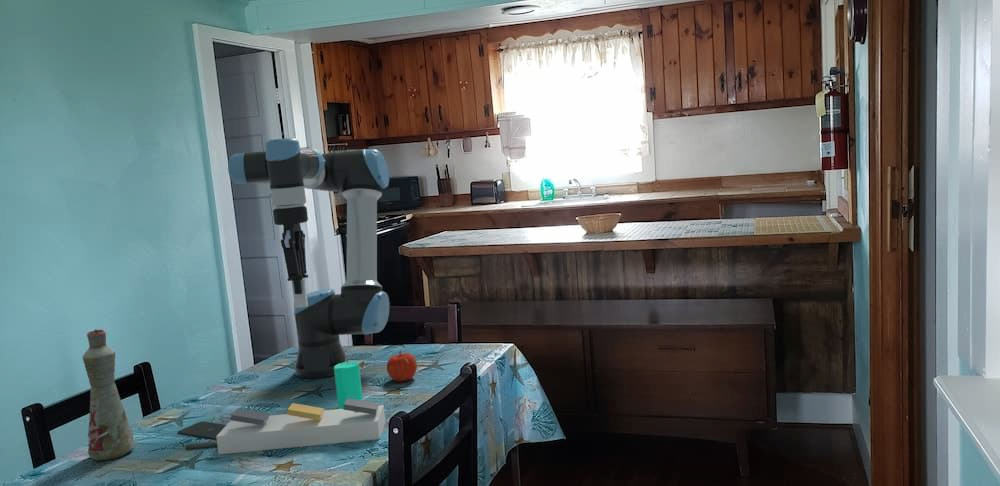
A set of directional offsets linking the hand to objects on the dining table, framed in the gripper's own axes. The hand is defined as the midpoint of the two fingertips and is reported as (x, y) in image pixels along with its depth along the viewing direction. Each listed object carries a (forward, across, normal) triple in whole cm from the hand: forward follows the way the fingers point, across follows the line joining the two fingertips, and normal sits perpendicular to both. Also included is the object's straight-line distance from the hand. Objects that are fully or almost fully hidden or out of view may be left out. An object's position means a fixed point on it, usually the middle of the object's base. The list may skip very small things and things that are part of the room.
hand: (301, 306), depth 167 cm
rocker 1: (+21, +15, -10) cm, 27 cm away
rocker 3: (+21, +15, +14) cm, 29 cm away
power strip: (+26, +14, -3) cm, 30 cm away
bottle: (+27, +13, -41) cm, 51 cm away
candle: (+27, -4, +8) cm, 28 cm away
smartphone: (+27, +4, -23) cm, 36 cm away
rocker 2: (+21, +15, +2) cm, 26 cm away
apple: (+27, -22, +19) cm, 39 cm away
